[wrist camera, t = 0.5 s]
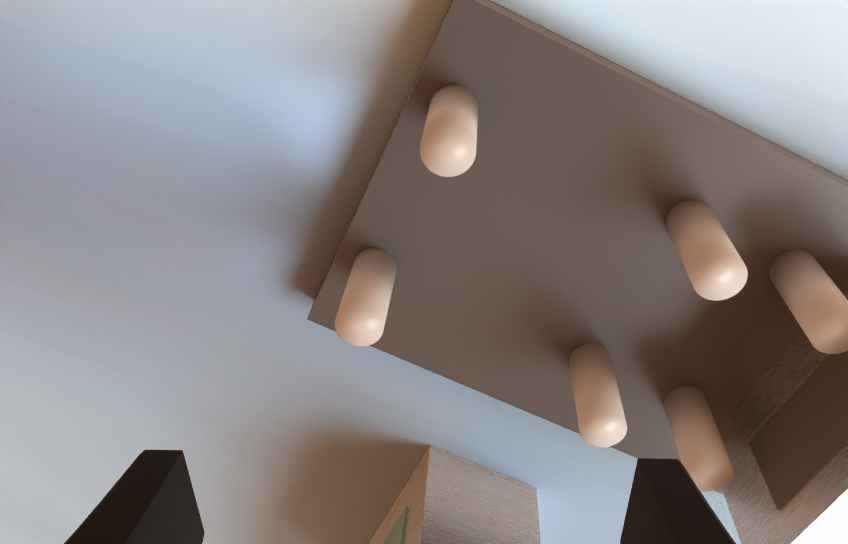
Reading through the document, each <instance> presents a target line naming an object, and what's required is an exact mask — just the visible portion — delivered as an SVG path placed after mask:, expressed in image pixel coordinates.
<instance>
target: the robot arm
mask: <svg viewBox="0 0 848 544" xmlns="http://www.w3.org/2000/svg"><path fill="white" fill-rule="evenodd" d="M203 537H204V529H203V526H202V522H201V518H200V514H199V510H198V507H197V503H196V499H195V495H194V491H193V488H192V484H191V480H190V476H189V472H188V469H187V465H186V461H185V457H184V454H183V450H144V451H143V452H142V453H141V454H140V455H139V456H138V457H137V458H136V460H135V461H134V462H133V463H132V464H131V466H130V467H129V468H128V469H127V470H126V472H125V473H124V474H123V475H122V477H121V478H120V479H119V480H118V481H117V483H116V484H115V485H114V486H113V487H112V489H111V490H110V491H109V492H108V493H107V495H106V496H105V497H104V498H103V499H102V501H101V502H100V503H99V504H98V505H97V506H96V508H95V509H94V510H93V511H92V512H91V514H90V515H89V516H88V517H87V518H86V519H85V521H84V522H83V523H82V524H81V525H80V526H79V528H78V529H77V530H76V531H75V532H74V533H73V534H72V535H71V537H70V538H69V539H68V540H67V541H66V542H65V543H64V544H202V542H203ZM620 543H621V544H736V543H735V542H734V540H733V539H732V538H731V536H730V535H729V533H728V532H727V530H726V529H725V527H724V526H723V524H722V523H721V522H720V520H719V519H718V517H717V516H716V514H715V513H714V511H713V510H712V508H711V507H710V505H709V504H708V502H707V501H706V499H705V498H704V496H703V495H702V493H701V492H700V490H699V489H698V487H697V486H696V484H695V482H694V481H693V479H692V478H691V476H690V475H689V473H688V471H687V470H686V468H685V467H684V465H683V464H682V463H681V462H680V461H679V460H678V459H652V458H638V461H637V466H636V470H635V475H634V480H633V484H632V489H631V494H630V498H629V503H628V508H627V512H626V517H625V521H624V526H623V531H622V535H621V540H620Z"/></svg>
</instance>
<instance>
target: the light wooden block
mask: <svg viewBox="0 0 848 544" xmlns="http://www.w3.org/2000/svg"><path fill="white" fill-rule="evenodd" d="M369 544H540V533H539V518H538V504H537V490H536V488H534V487H532V486H529V485H527V484H525V483H522V482H520V481H517V480H515V479H512V478H510V477H507V476H505V475H502V474H500V473H497V472H495V471H492V470H490V469H488V468H485V467H483V466H480V465H478V464H475V463H473V462H470V461H468V460H465V459H463V458H460V457H458V456H455V455H453V454H451V453H448V452H446V451H443V450H441V449H438V448H436V447H433V446H431V445H430V447H429V448H428V450H427V451H426V453H425V455H424V456H423V458H422V459H421V461H420V463H419V464H418V466H417V467H416V469H415V471H414V472H413V474H412V475H411V477H410V479H409V480H408V482H407V483H406V485H405V487H404V488H403V490H402V491H401V493H400V495H399V496H398V498H397V499H396V501H395V503H394V504H393V506H392V507H391V509H390V511H389V512H388V514H387V515H386V517H385V519H384V520H383V522H382V523H381V525H380V527H379V528H378V530H377V531H376V533H375V535H374V536H373V538H372V539H371V541H370V543H369Z"/></svg>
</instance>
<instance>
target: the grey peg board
mask: <svg viewBox="0 0 848 544" xmlns="http://www.w3.org/2000/svg"><path fill="white" fill-rule="evenodd" d="M847 279H848V180H846V179H844V178H842V177H840V176H838V175H836V174H834V173H832V172H830V171H828V170H826V169H824V168H822V167H820V166H818V165H816V164H814V163H812V162H810V161H808V160H806V159H804V158H802V157H800V156H798V155H796V154H794V153H792V152H790V151H788V150H786V149H784V148H782V147H780V146H778V145H776V144H774V143H772V142H770V141H768V140H766V139H764V138H762V137H760V136H758V135H756V134H754V133H752V132H750V131H748V130H746V129H744V128H742V127H740V126H739V125H737V124H735V123H733V122H731V121H729V120H727V119H725V118H723V117H721V116H719V115H717V114H715V113H713V112H711V111H709V110H707V109H705V108H703V107H701V106H699V105H697V104H695V103H693V102H691V101H689V100H687V99H685V98H683V97H681V96H679V95H677V94H675V93H673V92H671V91H669V90H667V89H665V88H663V87H661V86H659V85H657V84H655V83H653V82H651V81H649V80H647V79H645V78H643V77H641V76H639V75H637V74H635V73H633V72H631V71H629V70H627V69H625V68H623V67H621V66H619V65H617V64H615V63H613V62H611V61H609V60H607V59H605V58H603V57H601V56H599V55H597V54H595V53H593V52H591V51H589V50H587V49H585V48H583V47H581V46H579V45H577V44H575V43H573V42H572V41H570V40H568V39H566V38H564V37H562V36H560V35H558V34H556V33H554V32H552V31H550V30H548V29H546V28H544V27H542V26H540V25H538V24H536V23H534V22H532V21H530V20H528V19H526V18H524V17H522V16H520V15H518V14H516V13H514V12H512V11H510V10H508V9H506V8H504V7H502V6H500V5H498V4H496V3H494V2H492V1H490V0H453V1H452V3H451V5H450V7H449V9H448V11H447V14H446V16H445V18H444V20H443V22H442V24H441V27H440V29H439V31H438V33H437V35H436V38H435V40H434V42H433V44H432V46H431V48H430V51H429V53H428V55H427V57H426V59H425V61H424V64H423V66H422V68H421V70H420V72H419V74H418V77H417V79H416V81H415V83H414V85H413V87H412V90H411V92H410V94H409V96H408V98H407V100H406V103H405V105H404V107H403V109H402V111H401V114H400V116H399V118H398V120H397V122H396V124H395V127H394V129H393V131H392V133H391V135H390V137H389V140H388V142H387V144H386V146H385V148H384V150H383V153H382V155H381V157H380V159H379V161H378V163H377V166H376V168H375V170H374V172H373V174H372V177H371V179H370V181H369V183H368V185H367V187H366V190H365V192H364V194H363V196H362V198H361V200H360V203H359V205H358V207H357V209H356V211H355V213H354V216H353V218H352V220H351V222H350V224H349V226H348V229H347V231H346V233H345V235H344V237H343V240H342V242H341V244H340V246H339V248H338V250H337V253H336V255H335V257H334V259H333V261H332V263H331V266H330V268H329V270H328V272H327V274H326V276H325V279H324V281H323V283H322V285H321V287H320V289H319V292H318V294H317V296H316V298H315V300H314V303H313V305H312V308H311V311H310V313H309V316H308V318H307V319H308V320H310V321H313V322H315V323H317V324H320V325H322V326H325V327H327V328H329V329H332V330H334V331H336V332H337V334H338V335H339V336H340V338H341V339H343V340H344V341H345V342H347V343H349V344H351V345H354V346H369V345H370V346H372V347H375V348H377V349H379V350H382V351H384V352H386V353H389V354H391V355H394V356H396V357H398V358H401V359H403V360H405V361H408V362H410V363H413V364H415V365H417V366H420V367H422V368H424V369H427V370H429V371H432V372H434V373H436V374H439V375H441V376H443V377H446V378H448V379H451V380H453V381H455V382H458V383H460V384H462V385H465V386H467V387H470V388H472V389H474V390H477V391H479V392H482V393H484V394H486V395H489V396H491V397H493V398H496V399H498V400H501V401H503V402H505V403H508V404H510V405H512V406H515V407H517V408H520V409H522V410H524V411H527V412H529V413H531V414H534V415H536V416H539V417H541V418H543V419H546V420H548V421H550V422H553V423H555V424H558V425H560V426H562V427H565V428H567V429H569V430H572V431H574V432H577V433H579V434H580V435H581V437H582V439H583V440H584V441H585V442H586V443H588V444H590V445H592V446H595V447H609V446H610V447H612V448H615V449H617V450H619V451H622V452H624V453H627V454H629V455H631V456H634V457H636V458H652V459H678V460H679V461H680V462H681V463H682V464H683V465H684V467H685V468H686V470H687V471H688V473H689V475H690V476H691V478H692V479H693V481H694V482H695V484H696V486H697V487H698V489H699V490H700V491H717V492H719V493H722V494H724V493H723V491H722V488H723V487H725V486H726V485H728V484H729V483H730V481H731V480H732V478H733V475H734V470H733V467H732V465H731V462H730V459H729V457H728V454H727V452H726V449H725V447H724V444H723V441H722V439H721V436H720V434H719V431H718V429H717V428H718V427H719V426H720V425H721V424H722V423H723V421H724V420H725V419H726V418H727V417H728V416H729V414H730V413H731V412H732V411H733V410H734V409H735V408H736V406H737V405H738V404H739V403H740V402H741V401H742V400H743V398H744V397H745V396H746V395H747V394H748V393H749V391H750V390H751V389H752V388H753V387H754V386H755V385H756V383H757V382H758V381H759V380H760V379H761V378H762V377H763V375H764V374H765V373H766V372H767V371H768V370H769V369H770V367H771V366H772V365H773V364H774V363H775V362H776V360H777V359H778V358H779V357H780V356H781V355H782V354H783V352H784V351H785V350H786V349H787V348H788V347H789V346H790V344H791V343H792V342H793V341H794V340H795V339H796V338H797V336H798V335H799V334H800V333H801V332H802V331H804V333H805V334H806V336H807V337H808V339H809V340H810V342H811V343H812V345H813V346H814V347H815V348H816V349H817V350H818V351H820V352H823V353H826V354H839V353H843V352H846V351H848V300H847V299H846V297H845V296H844V295H843V294H842V292H841V291H840V290H839V288H840V287H841V286H842V285H843V284H844V282H845V281H846V280H847Z"/></svg>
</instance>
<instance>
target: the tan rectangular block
mask: <svg viewBox="0 0 848 544" xmlns="http://www.w3.org/2000/svg"><path fill="white" fill-rule="evenodd" d="M839 290H840V291H841V292H842V294H843V295H844V296H845V297H846V299H847V300H848V279H847V280H846V281H845V282H844V284H843V285H842V286H841V287H840V288H839ZM717 429H718V431H719V434H720V436H721V439H722V441H723V444H724V447H725V449H726V452H727V454H728V457H729V459H730V462H731V465H732V467H733V470H734V475H733V478H732V480H731V481H730V483H729V484H728V485H726V486H725V487H723V488H722V491H723V493H724V496H725V499H726V502H727V505H728V507H729V510H730V513H731V516H732V518H733V521H734V524H735V527H736V530H737V532H738V535H739V538H740V541H741V544H848V351H846V352H843V353H839V354H826V353H823V352H820V351H818V350H817V349H816V348H815V347H814V346H813V345H812V343H811V342H810V340H809V339H808V337H807V336H806V334H805V333H804V331H802V332H801V333H800V334H799V335H798V336H797V338H796V339H795V340H794V341H793V342H792V343H791V344H790V346H789V347H788V348H787V349H786V350H785V351H784V352H783V354H782V355H781V356H780V357H779V358H778V359H777V360H776V362H775V363H774V364H773V365H772V366H771V367H770V369H769V370H768V371H767V372H766V373H765V374H764V375H763V377H762V378H761V379H760V380H759V381H758V382H757V383H756V385H755V386H754V387H753V388H752V389H751V390H750V391H749V393H748V394H747V395H746V396H745V397H744V398H743V400H742V401H741V402H740V403H739V404H738V405H737V406H736V408H735V409H734V410H733V411H732V412H731V413H730V414H729V416H728V417H727V418H726V419H725V420H724V421H723V423H722V424H721V425H720V426H719V427H718V428H717Z"/></svg>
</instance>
